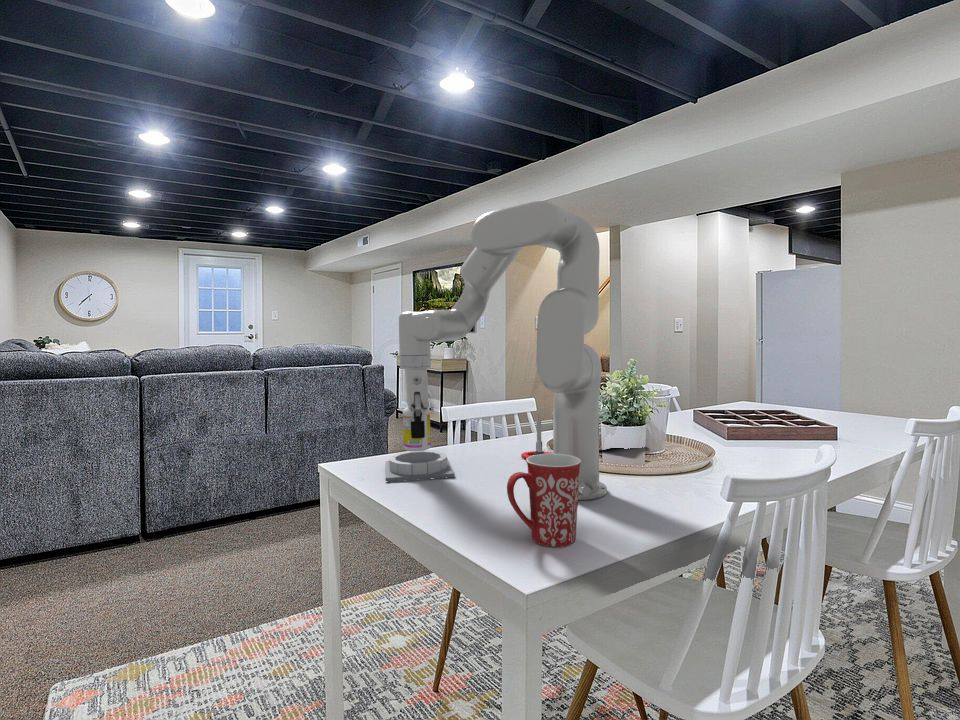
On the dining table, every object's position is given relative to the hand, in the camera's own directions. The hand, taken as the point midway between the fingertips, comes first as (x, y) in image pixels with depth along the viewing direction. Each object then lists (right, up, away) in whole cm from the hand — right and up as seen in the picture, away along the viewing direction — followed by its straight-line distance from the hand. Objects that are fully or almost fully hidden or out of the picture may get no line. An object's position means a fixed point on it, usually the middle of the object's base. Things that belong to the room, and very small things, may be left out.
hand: (417, 434), depth 138 cm
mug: (+26, -12, -45) cm, 53 cm away
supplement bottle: (0, -4, 0) cm, 4 cm away
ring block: (0, -9, +1) cm, 9 cm away
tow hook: (+31, -8, +12) cm, 34 cm away
